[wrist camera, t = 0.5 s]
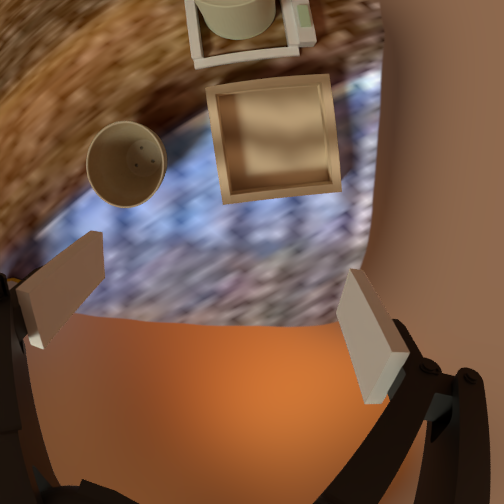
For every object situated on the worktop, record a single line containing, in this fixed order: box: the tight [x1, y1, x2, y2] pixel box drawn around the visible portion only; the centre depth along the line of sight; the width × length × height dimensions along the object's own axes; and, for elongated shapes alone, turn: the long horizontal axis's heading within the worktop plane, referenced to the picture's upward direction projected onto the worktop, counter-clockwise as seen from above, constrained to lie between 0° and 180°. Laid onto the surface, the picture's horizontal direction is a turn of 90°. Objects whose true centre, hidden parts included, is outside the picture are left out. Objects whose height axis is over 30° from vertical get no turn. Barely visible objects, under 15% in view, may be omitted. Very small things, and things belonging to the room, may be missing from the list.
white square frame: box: [185, 0, 317, 70], centre depth 29 cm, size 15×15×3 cm
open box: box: [205, 74, 342, 205], centre depth 35 cm, size 14×14×4 cm
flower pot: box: [86, 121, 167, 208], centre depth 35 cm, size 10×10×7 cm
